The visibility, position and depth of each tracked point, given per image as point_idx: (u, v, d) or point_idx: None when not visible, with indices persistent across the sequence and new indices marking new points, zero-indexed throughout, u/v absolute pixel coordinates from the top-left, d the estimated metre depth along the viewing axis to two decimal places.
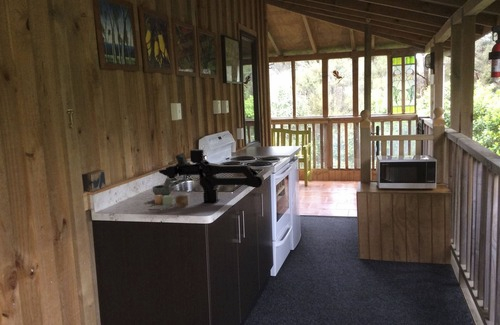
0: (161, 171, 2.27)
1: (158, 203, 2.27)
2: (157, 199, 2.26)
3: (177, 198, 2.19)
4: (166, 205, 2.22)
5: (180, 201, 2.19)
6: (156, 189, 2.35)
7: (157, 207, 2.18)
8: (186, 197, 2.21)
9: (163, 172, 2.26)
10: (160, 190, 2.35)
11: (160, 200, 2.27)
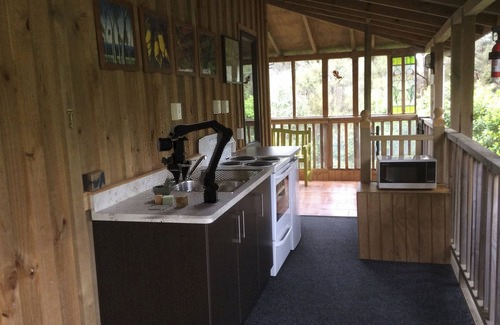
0: (176, 180, 2.15)
1: (158, 203, 2.27)
2: (157, 199, 2.26)
3: (177, 198, 2.19)
4: (166, 205, 2.22)
5: (180, 201, 2.19)
6: (156, 189, 2.35)
7: (157, 207, 2.18)
8: (186, 197, 2.21)
9: (177, 178, 2.15)
10: (160, 190, 2.35)
11: (160, 200, 2.27)
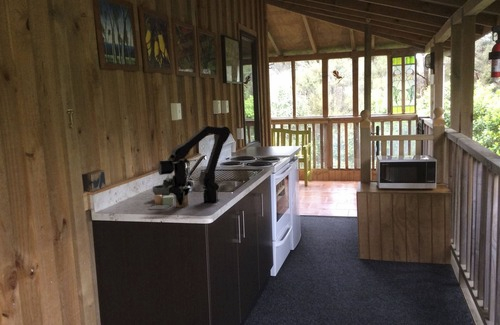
0: (179, 202, 2.19)
1: (158, 203, 2.27)
2: (157, 199, 2.26)
3: None
4: (166, 205, 2.22)
5: None
6: (156, 189, 2.35)
7: (157, 207, 2.18)
8: (186, 197, 2.21)
9: (180, 199, 2.18)
10: (160, 190, 2.35)
11: (160, 200, 2.27)
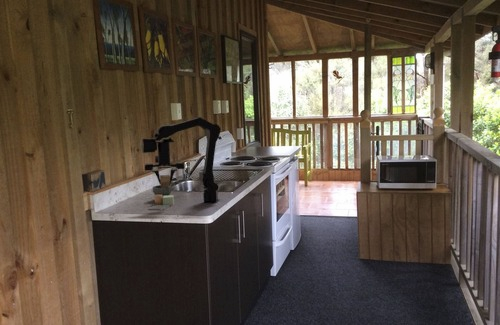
0: (158, 180, 2.18)
1: (158, 203, 2.27)
2: (157, 199, 2.27)
3: None
4: (166, 205, 2.22)
5: (160, 180, 2.18)
6: (156, 189, 2.35)
7: (157, 207, 2.18)
8: (166, 177, 2.16)
9: None
10: (160, 190, 2.35)
11: (160, 200, 2.27)
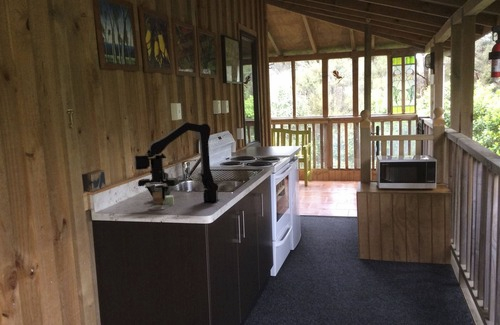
0: None
1: (159, 203, 2.27)
2: None
3: None
4: (166, 205, 2.22)
5: None
6: (156, 189, 2.35)
7: (157, 207, 2.18)
8: (158, 194, 2.16)
9: None
10: (160, 190, 2.35)
11: None
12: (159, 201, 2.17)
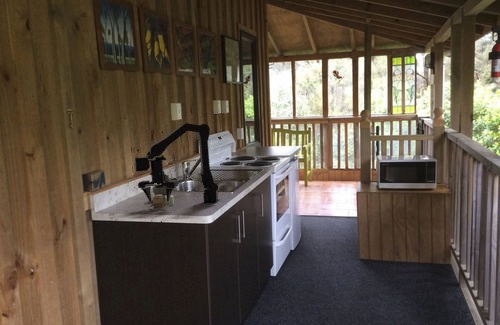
0: None
1: None
2: None
3: None
4: (166, 205, 2.22)
5: None
6: (156, 189, 2.35)
7: None
8: (158, 199, 2.17)
9: None
10: (160, 190, 2.35)
11: None
12: (159, 206, 2.17)
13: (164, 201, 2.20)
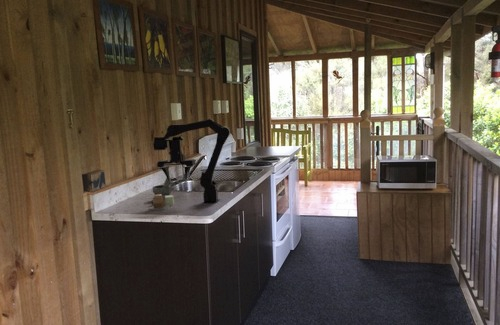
0: None
1: None
2: None
3: None
4: (166, 205, 2.22)
5: None
6: (156, 189, 2.35)
7: None
8: (158, 199, 2.17)
9: None
10: (160, 190, 2.35)
11: None
12: (159, 206, 2.17)
13: (164, 201, 2.20)
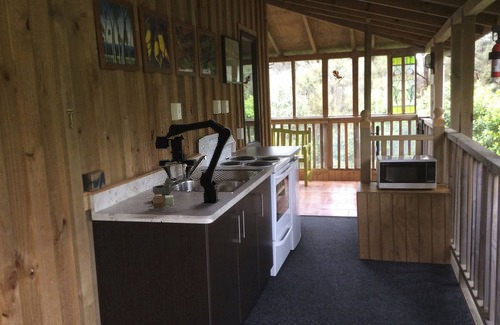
0: None
1: None
2: None
3: None
4: (166, 205, 2.22)
5: None
6: (156, 189, 2.35)
7: None
8: (158, 199, 2.17)
9: None
10: (160, 190, 2.35)
11: None
12: (159, 206, 2.17)
13: (164, 201, 2.20)
